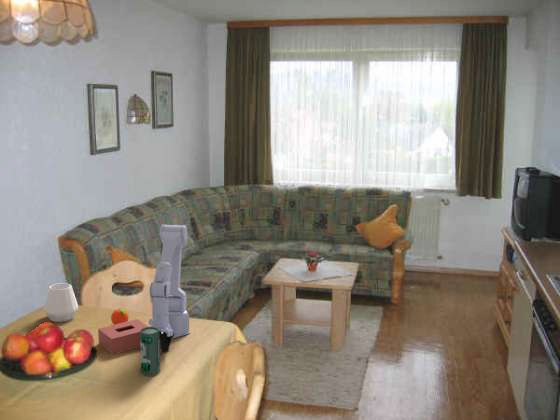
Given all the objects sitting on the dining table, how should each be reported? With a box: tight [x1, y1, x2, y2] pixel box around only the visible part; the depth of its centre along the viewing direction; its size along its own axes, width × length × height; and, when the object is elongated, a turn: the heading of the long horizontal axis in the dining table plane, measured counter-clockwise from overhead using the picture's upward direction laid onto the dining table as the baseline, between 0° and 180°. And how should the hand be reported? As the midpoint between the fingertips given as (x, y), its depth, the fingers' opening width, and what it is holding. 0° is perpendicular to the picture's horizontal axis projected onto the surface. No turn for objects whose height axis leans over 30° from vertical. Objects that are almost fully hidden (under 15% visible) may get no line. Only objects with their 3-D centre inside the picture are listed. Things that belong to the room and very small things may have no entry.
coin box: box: [97, 318, 149, 355], centre depth 214 cm, size 16×12×6 cm
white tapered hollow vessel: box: [43, 282, 79, 323], centre depth 237 cm, size 13×13×14 cm
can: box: [139, 326, 161, 377], centre depth 192 cm, size 6×6×15 cm
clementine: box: [110, 308, 130, 325], centre depth 231 cm, size 8×7×7 cm
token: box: [160, 342, 169, 355], centre depth 208 cm, size 5×2×5 cm, turn 130°
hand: (161, 348), depth 208 cm, fingers open, 6 cm apart
